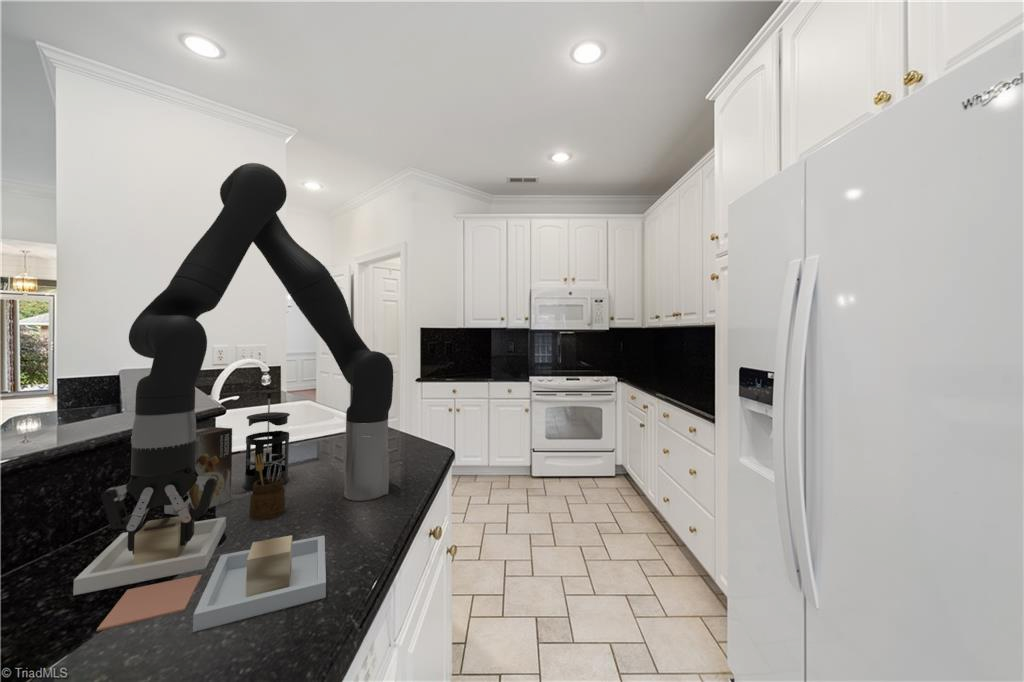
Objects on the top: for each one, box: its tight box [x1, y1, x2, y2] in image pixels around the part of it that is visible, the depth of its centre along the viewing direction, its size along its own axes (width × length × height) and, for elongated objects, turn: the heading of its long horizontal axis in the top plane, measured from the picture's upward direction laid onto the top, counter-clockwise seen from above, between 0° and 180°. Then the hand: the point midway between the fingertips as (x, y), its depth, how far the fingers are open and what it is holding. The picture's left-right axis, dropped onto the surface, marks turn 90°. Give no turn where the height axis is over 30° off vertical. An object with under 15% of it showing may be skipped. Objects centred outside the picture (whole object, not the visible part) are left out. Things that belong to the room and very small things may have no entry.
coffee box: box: [163, 426, 233, 516], centre depth 78 cm, size 9×6×16 cm
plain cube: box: [246, 535, 293, 597], centre depth 54 cm, size 5×5×5 cm
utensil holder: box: [249, 454, 286, 521], centre depth 75 cm, size 6×6×12 cm
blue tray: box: [192, 535, 327, 633], centre depth 54 cm, size 14×14×3 cm
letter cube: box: [134, 515, 187, 565], centre depth 60 cm, size 5×5×5 cm
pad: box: [96, 574, 203, 632], centre depth 49 cm, size 8×8×1 cm
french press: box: [242, 389, 291, 492], centre depth 93 cm, size 12×9×23 cm
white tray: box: [72, 516, 227, 596], centre depth 60 cm, size 14×14×3 cm
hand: (161, 547), depth 60 cm, fingers closed on letter cube, 5 cm apart
